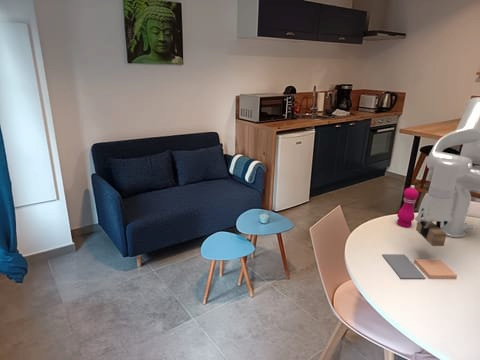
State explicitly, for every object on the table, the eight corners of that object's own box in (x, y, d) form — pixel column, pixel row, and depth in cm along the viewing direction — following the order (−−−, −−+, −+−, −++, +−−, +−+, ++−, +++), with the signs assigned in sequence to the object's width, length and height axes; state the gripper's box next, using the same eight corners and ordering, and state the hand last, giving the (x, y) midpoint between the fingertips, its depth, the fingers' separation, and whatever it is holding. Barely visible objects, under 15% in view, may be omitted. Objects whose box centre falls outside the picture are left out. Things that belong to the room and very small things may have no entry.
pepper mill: (414, 229, 153) (424, 188, 146) (397, 227, 154) (406, 187, 147) (409, 222, 159) (419, 183, 152) (394, 220, 161) (402, 181, 154)
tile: (414, 259, 126) (429, 275, 117) (440, 259, 127) (457, 275, 117) (413, 263, 127) (428, 279, 118) (439, 263, 127) (455, 280, 118)
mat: (404, 255, 131) (404, 254, 131) (425, 279, 117) (425, 278, 117) (382, 255, 131) (382, 254, 131) (400, 279, 117) (401, 277, 117)
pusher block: (415, 229, 132) (418, 218, 131) (425, 229, 133) (428, 218, 131) (432, 246, 121) (435, 234, 119) (443, 246, 121) (446, 234, 120)
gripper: (456, 188, 124) (444, 230, 130) (412, 188, 123) (403, 231, 130) (469, 196, 117) (456, 240, 123) (423, 196, 116) (413, 241, 123)
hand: (429, 235), depth 127 cm, fingers closed on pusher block, 4 cm apart
